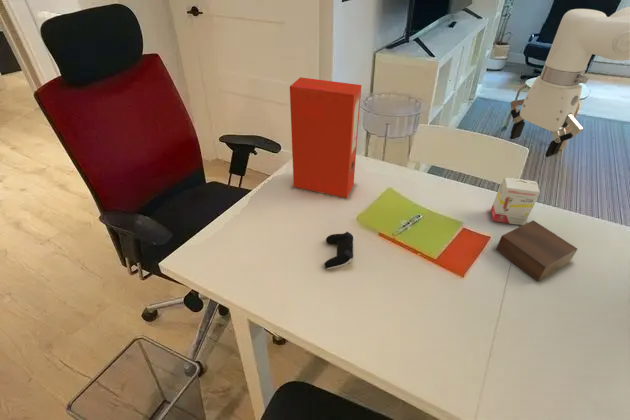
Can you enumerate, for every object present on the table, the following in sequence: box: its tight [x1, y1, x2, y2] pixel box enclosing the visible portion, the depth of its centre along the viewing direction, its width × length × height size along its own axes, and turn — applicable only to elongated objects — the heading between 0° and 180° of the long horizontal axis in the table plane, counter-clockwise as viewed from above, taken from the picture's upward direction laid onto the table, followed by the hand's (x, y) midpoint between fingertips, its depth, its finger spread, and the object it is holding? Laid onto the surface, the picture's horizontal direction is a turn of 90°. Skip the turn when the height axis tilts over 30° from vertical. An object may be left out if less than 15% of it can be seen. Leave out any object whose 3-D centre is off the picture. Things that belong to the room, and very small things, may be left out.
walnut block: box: [495, 219, 578, 282], centre depth 92 cm, size 12×12×5 cm
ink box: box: [489, 177, 541, 226], centre depth 101 cm, size 9×5×12 cm, turn 76°
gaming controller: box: [323, 231, 355, 270], centre depth 92 cm, size 11×4×7 cm
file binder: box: [289, 77, 362, 199], centre depth 107 cm, size 8×17×32 cm, turn 70°
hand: (531, 146), depth 90 cm, fingers open, 9 cm apart
